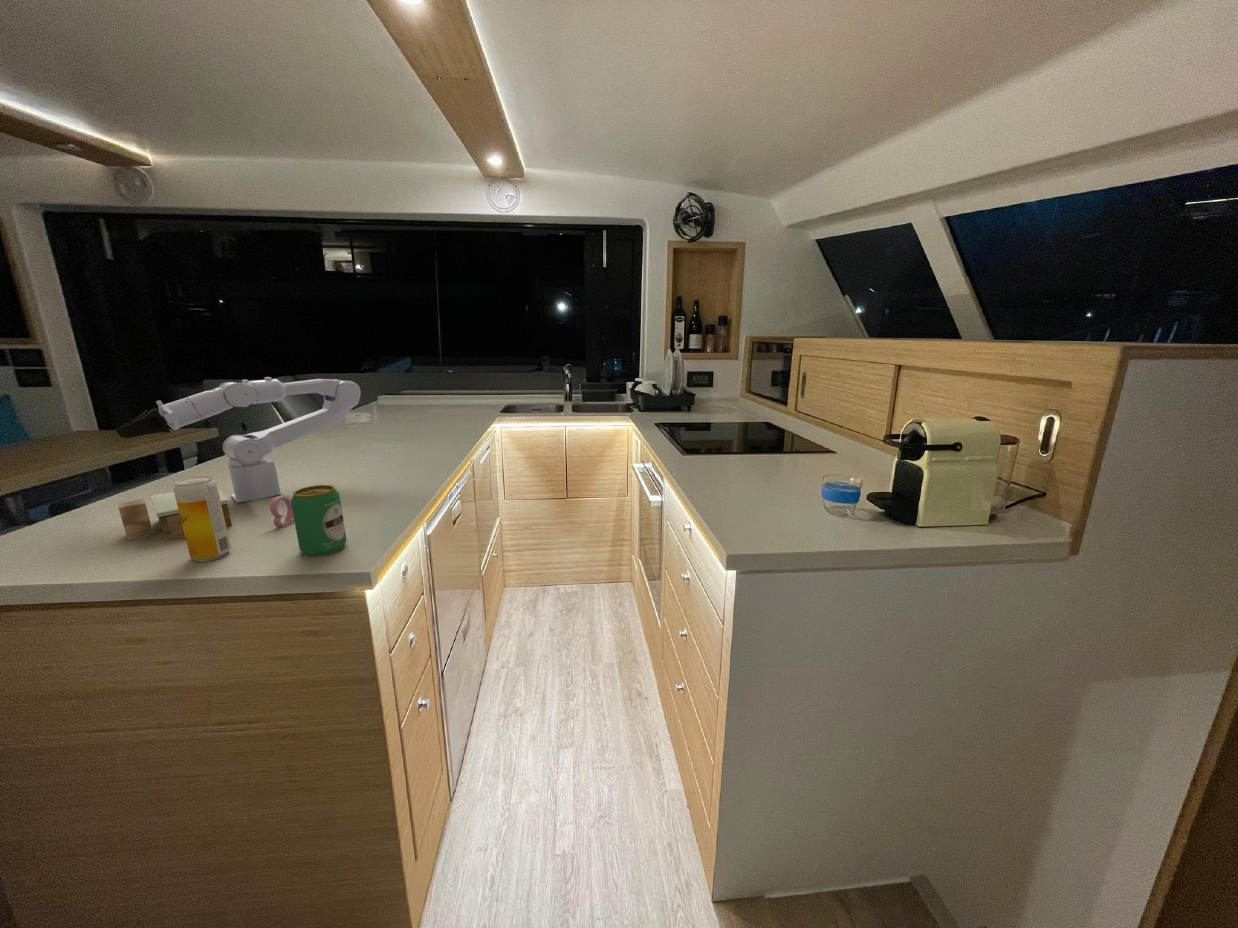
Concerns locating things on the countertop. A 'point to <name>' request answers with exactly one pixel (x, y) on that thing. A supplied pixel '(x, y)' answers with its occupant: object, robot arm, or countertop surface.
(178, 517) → the wooden box
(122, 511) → the oak key block
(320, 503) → the beverage can
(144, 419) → the robot arm
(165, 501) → the lid
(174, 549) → the countertop surface
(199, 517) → the beer can
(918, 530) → the countertop surface
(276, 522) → the decorative key
